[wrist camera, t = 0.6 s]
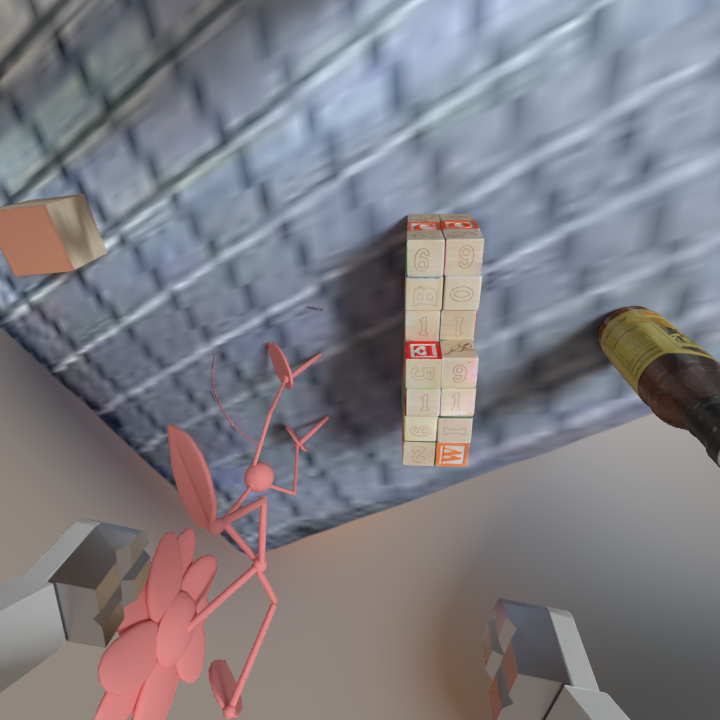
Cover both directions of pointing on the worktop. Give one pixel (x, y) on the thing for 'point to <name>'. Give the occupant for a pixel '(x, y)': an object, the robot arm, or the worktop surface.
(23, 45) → the worktop surface
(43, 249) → the maple cube
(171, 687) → the coral stemmed figure
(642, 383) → the sauce bottle
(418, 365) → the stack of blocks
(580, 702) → the robot arm
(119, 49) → the worktop surface
